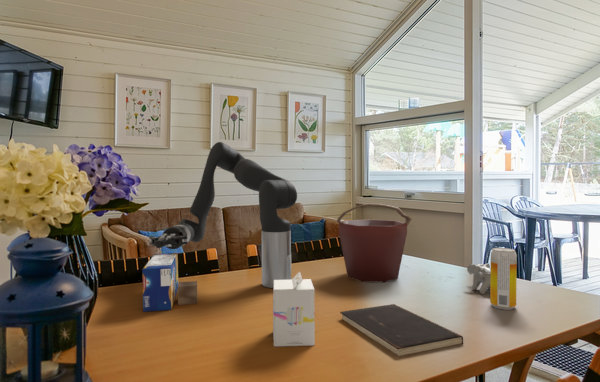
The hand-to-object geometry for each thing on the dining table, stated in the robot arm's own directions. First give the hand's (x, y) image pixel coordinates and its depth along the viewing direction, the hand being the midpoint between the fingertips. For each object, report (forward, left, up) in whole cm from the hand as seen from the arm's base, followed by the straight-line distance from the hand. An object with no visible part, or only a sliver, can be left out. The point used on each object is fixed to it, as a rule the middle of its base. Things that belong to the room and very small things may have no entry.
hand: (158, 244), depth 124 cm
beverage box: (-1, -2, -8) cm, 9 cm away
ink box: (-42, +37, -14) cm, 58 cm away
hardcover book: (-65, +32, -15) cm, 74 cm away
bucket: (-67, -18, -14) cm, 71 cm away
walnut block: (-12, +11, -14) cm, 22 cm away
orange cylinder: (-96, +15, -14) cm, 98 cm away
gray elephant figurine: (-97, -2, -14) cm, 98 cm away
